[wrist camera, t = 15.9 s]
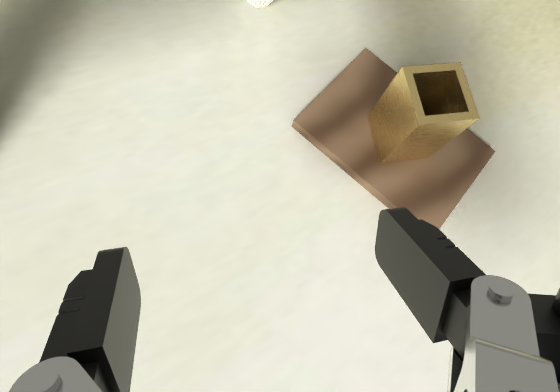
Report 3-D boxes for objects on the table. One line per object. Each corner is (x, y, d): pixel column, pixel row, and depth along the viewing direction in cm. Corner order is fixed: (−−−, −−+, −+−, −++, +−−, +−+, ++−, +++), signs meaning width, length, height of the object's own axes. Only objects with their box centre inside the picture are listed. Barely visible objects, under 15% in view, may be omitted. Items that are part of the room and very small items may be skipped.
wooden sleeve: (379, 163, 42) (419, 124, 33) (367, 116, 44) (402, 66, 35) (427, 158, 43) (479, 118, 34) (414, 111, 45) (460, 62, 36)
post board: (291, 126, 44) (301, 95, 38) (361, 55, 48) (381, 16, 42) (426, 239, 42) (461, 227, 36) (487, 156, 46) (528, 131, 40)
